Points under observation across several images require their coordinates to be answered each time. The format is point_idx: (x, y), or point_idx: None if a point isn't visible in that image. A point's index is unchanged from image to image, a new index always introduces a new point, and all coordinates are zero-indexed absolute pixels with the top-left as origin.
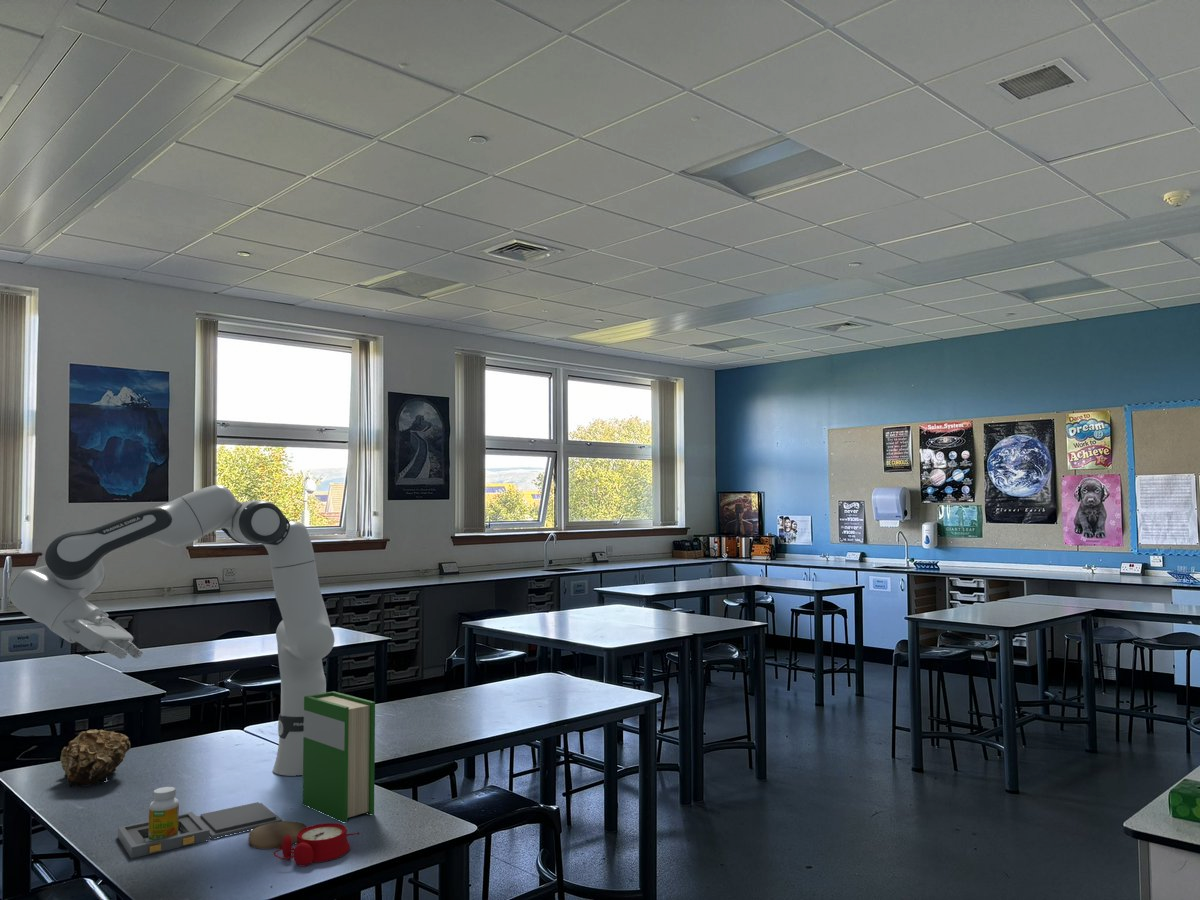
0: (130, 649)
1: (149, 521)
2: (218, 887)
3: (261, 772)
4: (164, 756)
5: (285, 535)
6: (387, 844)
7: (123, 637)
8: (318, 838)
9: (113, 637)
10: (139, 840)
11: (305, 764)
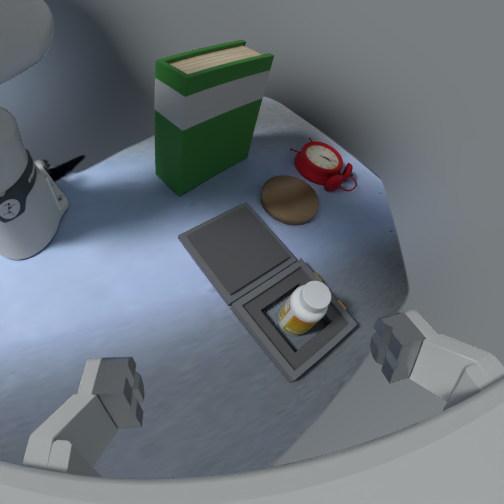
0: (89, 439)
1: None
2: (390, 226)
3: (22, 274)
4: None
5: None
6: (296, 132)
7: (167, 481)
8: (332, 158)
9: (454, 406)
10: (328, 331)
11: (186, 157)
